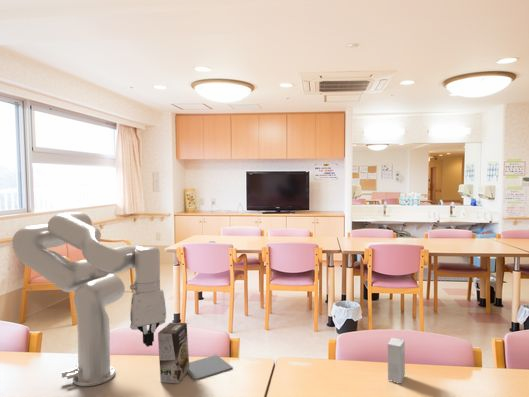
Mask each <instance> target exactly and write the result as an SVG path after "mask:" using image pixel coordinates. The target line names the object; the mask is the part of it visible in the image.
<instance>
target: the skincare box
mask: <svg viewBox="0 0 529 397" xmlns="http://www.w3.org/2000/svg"><path fill="white" fill-rule="evenodd" d="M405 357H406V353H405V339H401V338H395V337H390V340H389V341H388V343H387V381H388V380H392V381H395V382H398V383H397V384H399V383H401V384H402V383H403V382H404V379H405V376H406V374H405V372H406V371H405V370H406V368H405V367H406V363H405V362H406V359H405ZM404 375H405V376H404ZM403 378H404V379H403ZM395 382H394V383H395Z"/></svg>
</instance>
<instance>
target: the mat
mask: <svg viewBox="0 0 529 397" xmlns="http://www.w3.org/2000/svg"><path fill="white" fill-rule="evenodd" d="M233 369H234V367H233V366H231V365H230V364H229V363H227V362H226V361H225V360H224V359H223V358H221V357H220V356H219V355H218V354H215V355H212V356H208V357H204V358H201V359H197V360H194V361H189V371H188V372H187V373H186V374H187V375H188V376H189V377H190V378H191V379H192V380H193V381H194V382H196V381H197V380H202V379H205V378H208V377H211V376H214V375H218V374H220V373H223V372H228V371H231V370H233Z"/></svg>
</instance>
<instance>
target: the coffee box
mask: <svg viewBox="0 0 529 397" xmlns="http://www.w3.org/2000/svg"><path fill="white" fill-rule="evenodd" d="M187 324H188V323H187V322H170V323H168V324H166V325H165V326H164V327H163V328H162V329H160V330H159V331H158V333H157V339H158V358H159V376H160V383H165V384H179V383H180V382H181V381H182V379H183V378H184V377H185V375H186V374H187V372H188V371H189V362H190V356H189V355H190V354H189V353H190V352H189V342H188V341H189V340H188V339H189V338H188V325H187Z"/></svg>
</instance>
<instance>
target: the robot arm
mask: <svg viewBox="0 0 529 397" xmlns="http://www.w3.org/2000/svg"><path fill="white" fill-rule="evenodd" d="M92 221H93V220H92V219H91V217H89V215H88V214H86V213H84V212H79V211H77V212H76V211H73V212H63V213H62V212H61V213H58V214H55V215H53V216H52V217H51V218H50V219H49V220H48V222H47V223H44V224H34V225H28V226H25V227H22V228H20V229H18V230H17V231H16V232H15V233H14V235H13V237H12V239H11V243H12V249H13V251H14V254H15V255H16V257H17V259H18V260H19V261H20V262H21V263H22V264H23V265H25V266H26V267H28V268H29V269H31V270H33V271H34V272H36V273H38V274H39V275H41V276H42V277H43V278H44V279H45V280H47V281H49V283H51V284H52V285H53V286H55V287H57V289H59V290H60V291H61V292H62V291H63V292H64V293H71V292H74V294H73V305H74V308H75V312H76V313H75V314H76V322H77V323H76V324H77V327H76V328H77V363H76V364H75V367H72V369H67V370H63V371H61V378H62V379H63V378H66V379H67V380H70V379H72V383H73V384H74V385H76V386H78V387H93V386H97V385H100V384H104V383H106V382H108V381H110V380H112V378H113V377H115V374H116V369H115V367H114V366H112V365H111V342H110V341H111V340H110V339H111V338H110V337H111V334H110V330H111V329H110V328H111V327H110V319H109V315H108V314H107V311H106V308H105V307H107V306H108V305H111V304H113V303H115V302H118V301H119V300H120V299H121V298H122V297H123V296H124V294H125V288H126V287H125V284H124V281H123V280H122V278H120V277H119V275H117V274H118V273H122V272H124V271H127V270H132V269H134V281H133V282H134V283H133V284H132V285H131V284H130V285H129V290H132V291H133V292H132V296H131V302H130V314H129V315H130V317H129V318H130V326H129V328H130V330H132V331H133V330H134V331H135V330H136V331H140V332H141V333H142V343H143V345H145V347H146V348H148V347H152V346H153V343H154V342H155V332H156V330H157V328H158V327H159V326H160V325H163V324H165V323H166V319H167V309H166V299H165V298H166V297H165V293H164V289H162V288H161V264H160V263H161V258H160V256H161V253H160V249H159V248H158V247H157V246H139V245H136V244H128V245H123V246H118V247H114V248H113V247H109V246H108V245H105V244H103V243H101V242H100V240H101V238H102V236H101V235H102V233H101V230H100V229H99V228H97V227H96V226H93V224H92V223H93V222H92ZM65 244H68V245H70V246H71V247H74V248H76V249H78V250H80V251H81V253H82V255H83V257H84V259H81V260H75V261H71V260H70V259H68V258H66V257H64V255H62V254H60V253H59V252H57V251H54V250H51V249H52V248H57V247H60V246H63V245H65ZM50 248H51V249H50Z"/></svg>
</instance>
